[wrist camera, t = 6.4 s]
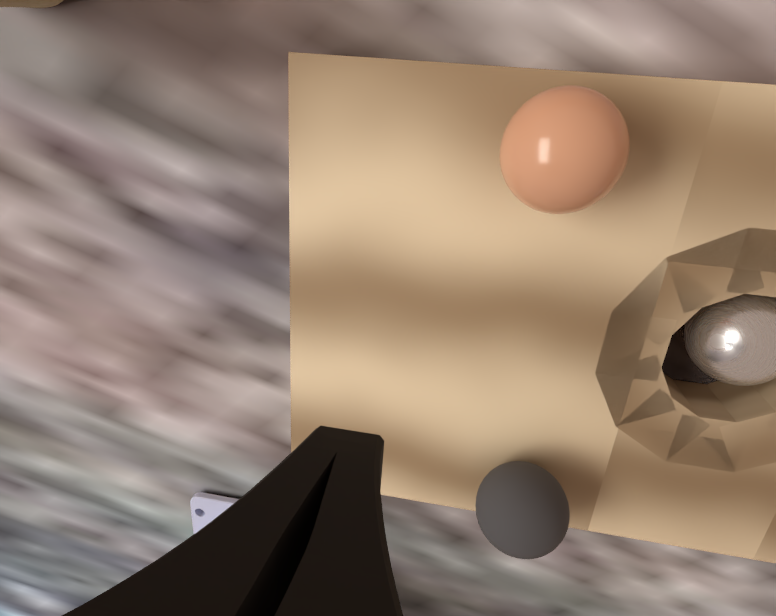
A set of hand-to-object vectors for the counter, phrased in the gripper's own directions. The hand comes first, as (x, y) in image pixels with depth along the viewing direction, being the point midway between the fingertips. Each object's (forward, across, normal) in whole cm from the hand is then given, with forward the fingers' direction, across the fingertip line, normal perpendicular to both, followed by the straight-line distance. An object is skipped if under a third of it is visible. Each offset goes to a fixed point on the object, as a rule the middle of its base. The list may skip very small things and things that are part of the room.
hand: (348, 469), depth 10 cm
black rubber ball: (+6, -5, +6) cm, 10 cm away
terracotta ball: (+6, -4, -6) cm, 10 cm away
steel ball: (+9, -11, 0) cm, 14 cm away
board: (+10, -6, 0) cm, 12 cm away
